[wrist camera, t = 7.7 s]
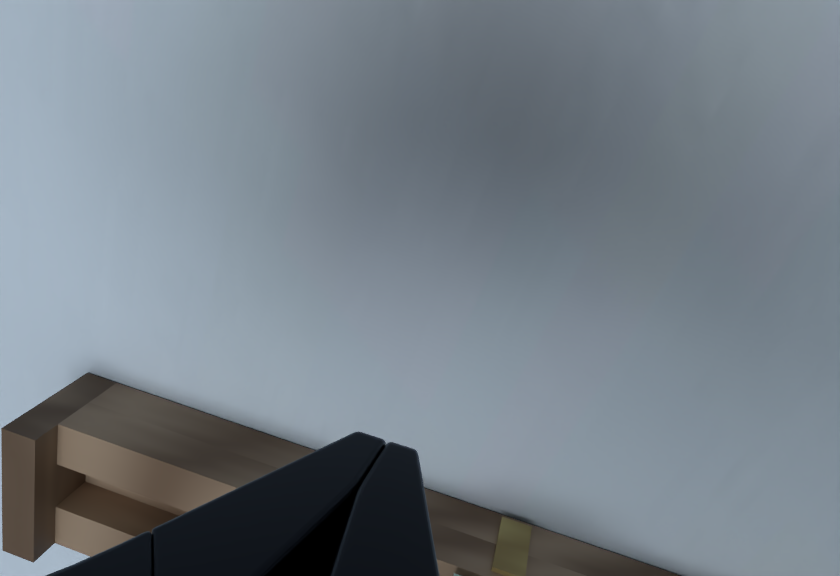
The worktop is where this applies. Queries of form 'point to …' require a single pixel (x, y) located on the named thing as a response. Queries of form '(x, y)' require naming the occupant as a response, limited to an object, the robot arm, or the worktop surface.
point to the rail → (213, 485)
